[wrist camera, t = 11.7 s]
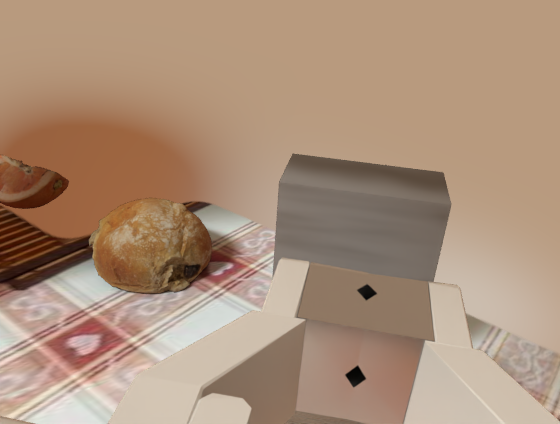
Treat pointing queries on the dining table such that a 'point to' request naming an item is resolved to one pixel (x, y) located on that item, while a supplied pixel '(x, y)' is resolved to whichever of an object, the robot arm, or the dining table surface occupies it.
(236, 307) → the dining table surface
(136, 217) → the bread roll
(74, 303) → the dining table surface
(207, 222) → the dining table surface
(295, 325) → the robot arm
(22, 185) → the fruit slice
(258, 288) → the dining table surface
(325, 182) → the base
